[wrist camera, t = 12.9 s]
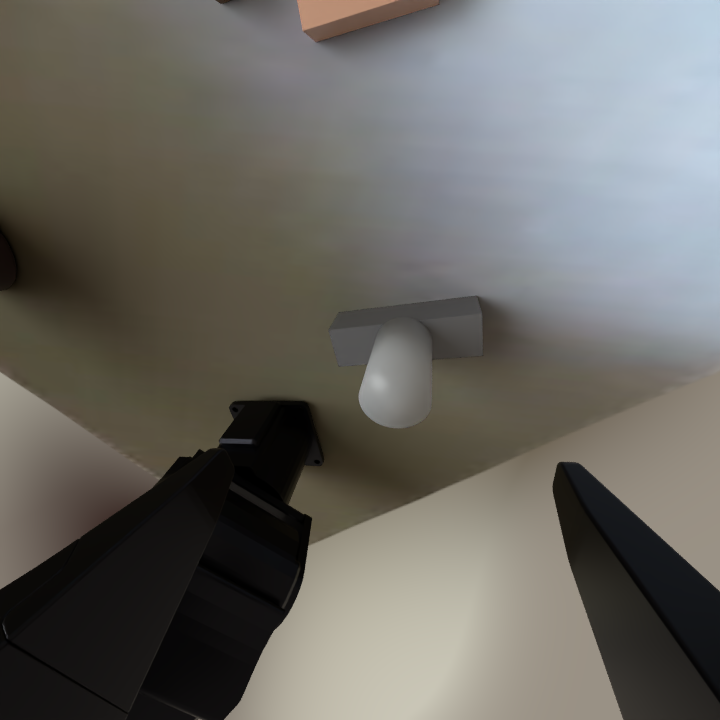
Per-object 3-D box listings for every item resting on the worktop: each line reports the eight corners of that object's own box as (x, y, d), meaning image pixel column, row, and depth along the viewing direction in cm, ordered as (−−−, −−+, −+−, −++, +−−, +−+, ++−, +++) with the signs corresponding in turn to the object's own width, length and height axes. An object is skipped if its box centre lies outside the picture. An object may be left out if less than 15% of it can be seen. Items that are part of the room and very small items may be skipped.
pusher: (477, 338, 19) (498, 426, 13) (348, 349, 22) (314, 430, 15) (476, 290, 18) (499, 363, 12) (338, 307, 20) (295, 377, 14)
